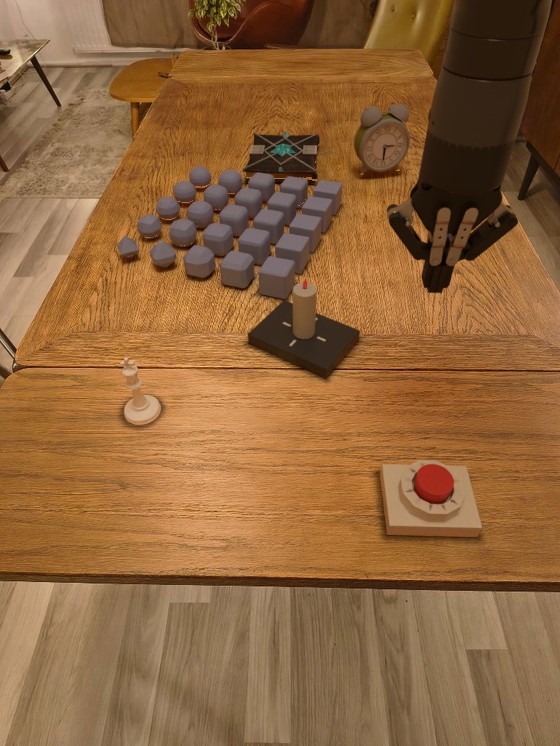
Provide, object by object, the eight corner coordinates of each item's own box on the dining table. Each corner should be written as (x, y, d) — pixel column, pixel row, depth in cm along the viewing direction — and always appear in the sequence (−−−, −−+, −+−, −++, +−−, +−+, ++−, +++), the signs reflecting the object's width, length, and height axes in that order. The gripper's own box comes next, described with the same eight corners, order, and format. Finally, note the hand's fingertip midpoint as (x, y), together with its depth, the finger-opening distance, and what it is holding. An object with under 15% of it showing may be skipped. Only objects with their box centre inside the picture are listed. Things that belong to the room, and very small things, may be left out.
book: (317, 186, 116) (317, 164, 113) (243, 184, 117) (241, 163, 114) (319, 147, 131) (320, 126, 128) (253, 146, 132) (252, 125, 129)
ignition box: (462, 475, 63) (470, 456, 60) (477, 537, 57) (487, 519, 54) (379, 474, 63) (383, 455, 60) (386, 535, 57) (391, 517, 55)
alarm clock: (357, 182, 117) (363, 112, 107) (348, 169, 122) (354, 101, 111) (405, 176, 119) (416, 107, 108) (395, 164, 124) (404, 96, 113)
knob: (314, 339, 77) (316, 295, 71) (292, 338, 77) (291, 294, 71) (315, 325, 80) (317, 280, 74) (293, 324, 80) (293, 280, 74)
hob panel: (358, 340, 80) (360, 329, 78) (326, 379, 74) (326, 368, 73) (284, 309, 86) (284, 299, 84) (248, 343, 80) (247, 333, 78)
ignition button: (446, 472, 59) (450, 464, 57) (453, 504, 56) (457, 495, 55) (411, 472, 59) (414, 463, 58) (416, 503, 56) (419, 494, 55)
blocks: (285, 300, 87) (285, 276, 84) (112, 263, 96) (105, 240, 92) (341, 204, 110) (342, 182, 106) (196, 182, 119) (193, 160, 115)
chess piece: (129, 397, 72) (111, 345, 65) (164, 397, 72) (149, 345, 65) (120, 424, 69) (100, 372, 62) (157, 425, 69) (141, 373, 62)
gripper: (400, 143, 42) (376, 309, 55) (565, 143, 42) (502, 311, 54) (391, 110, 47) (370, 268, 60) (537, 109, 47) (486, 270, 59)
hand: (433, 288), depth 57 cm, fingers closed
